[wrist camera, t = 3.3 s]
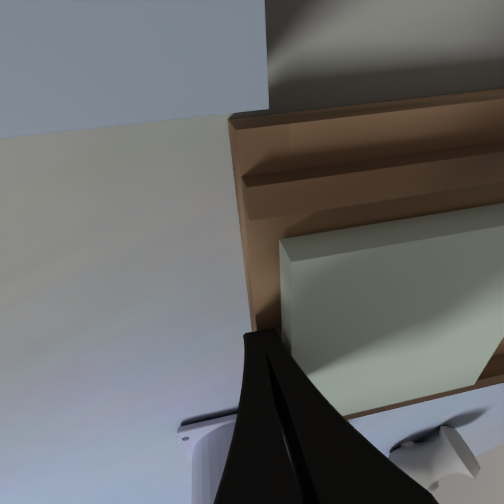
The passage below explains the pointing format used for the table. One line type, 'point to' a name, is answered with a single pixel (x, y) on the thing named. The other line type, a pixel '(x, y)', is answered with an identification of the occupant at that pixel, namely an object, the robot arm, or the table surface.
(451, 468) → the pale two-lobed sculpture
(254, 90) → the block
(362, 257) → the lid
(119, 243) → the table surface
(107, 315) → the table surface
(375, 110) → the board
